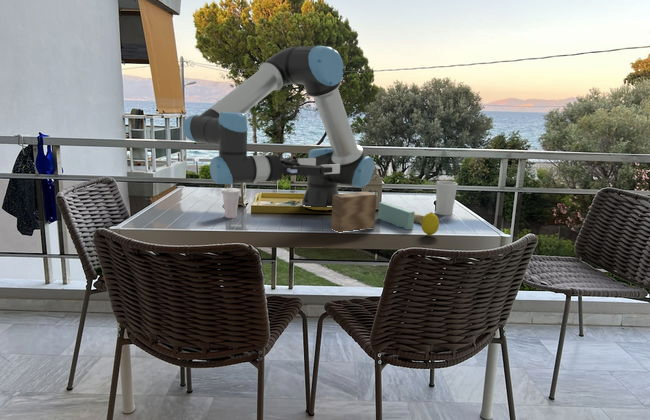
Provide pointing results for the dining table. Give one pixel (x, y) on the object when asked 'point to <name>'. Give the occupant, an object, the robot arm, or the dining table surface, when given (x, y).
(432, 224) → the lemon
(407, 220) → the rail
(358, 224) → the slab
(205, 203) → the dining table surface
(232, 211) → the smoothie
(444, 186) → the cup
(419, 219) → the roller
